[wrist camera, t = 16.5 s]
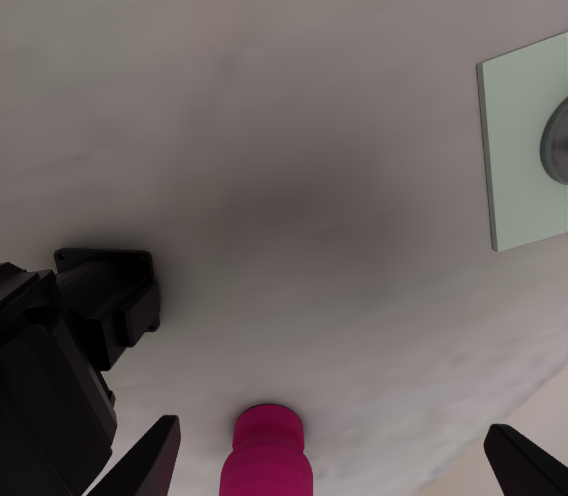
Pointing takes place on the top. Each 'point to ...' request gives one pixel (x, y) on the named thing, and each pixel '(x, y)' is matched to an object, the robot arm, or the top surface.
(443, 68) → the top surface
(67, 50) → the top surface
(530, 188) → the rubber mat
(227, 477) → the pepper mill
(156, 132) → the top surface
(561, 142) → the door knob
